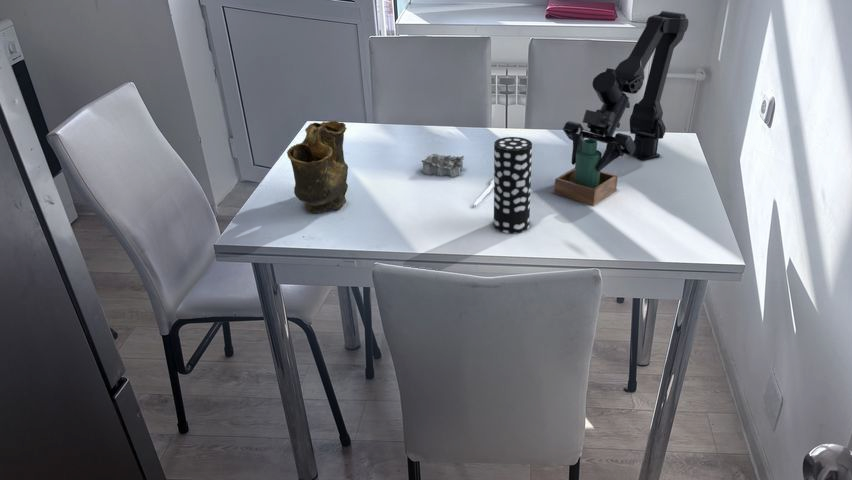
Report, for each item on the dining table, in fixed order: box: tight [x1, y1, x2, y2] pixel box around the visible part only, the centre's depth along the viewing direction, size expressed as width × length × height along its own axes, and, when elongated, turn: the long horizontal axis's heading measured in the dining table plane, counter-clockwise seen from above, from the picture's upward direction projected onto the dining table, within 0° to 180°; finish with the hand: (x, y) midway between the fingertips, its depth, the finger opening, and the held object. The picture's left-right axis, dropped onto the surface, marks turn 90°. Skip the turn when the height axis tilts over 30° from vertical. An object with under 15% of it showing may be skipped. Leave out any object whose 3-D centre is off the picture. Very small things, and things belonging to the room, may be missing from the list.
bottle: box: [574, 138, 603, 189], centre depth 176 cm, size 6×6×13 cm
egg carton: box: [421, 153, 465, 178], centre depth 190 cm, size 11×8×4 cm
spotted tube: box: [493, 136, 533, 234], centre depth 158 cm, size 8×8×20 cm
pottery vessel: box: [286, 120, 349, 214], centre depth 167 cm, size 25×11×20 cm, turn 178°
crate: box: [553, 167, 619, 206], centre depth 179 cm, size 12×12×4 cm
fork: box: [473, 177, 494, 207], centre depth 179 cm, size 3×20×2 cm, turn 160°
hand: (584, 167), depth 175 cm, fingers open, 7 cm apart
